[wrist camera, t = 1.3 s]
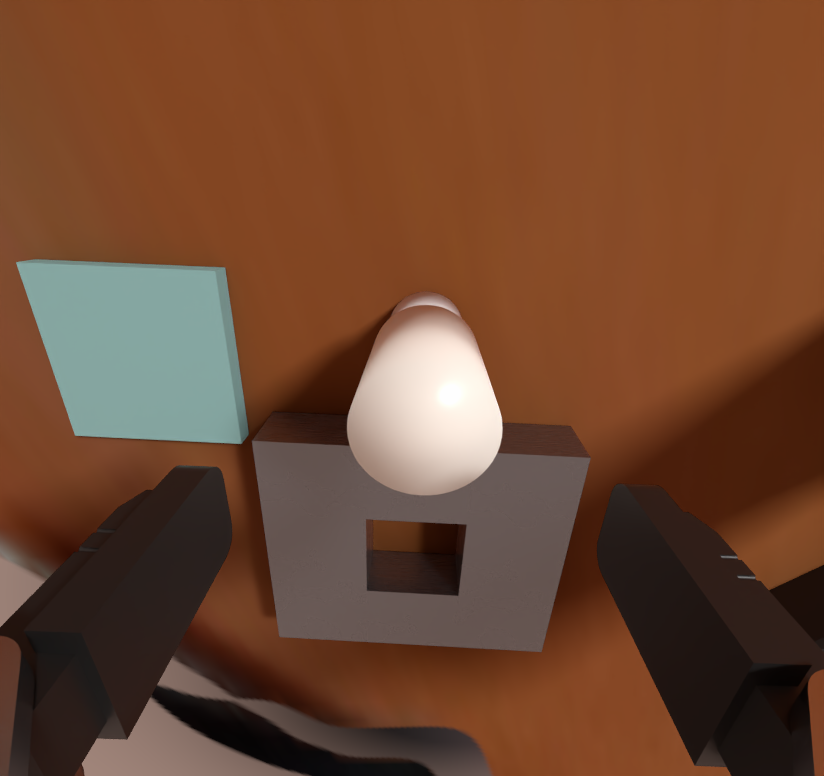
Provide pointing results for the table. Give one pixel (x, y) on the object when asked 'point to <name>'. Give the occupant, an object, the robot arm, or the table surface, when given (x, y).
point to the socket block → (405, 571)
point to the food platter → (805, 602)
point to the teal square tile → (140, 348)
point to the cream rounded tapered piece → (425, 402)
